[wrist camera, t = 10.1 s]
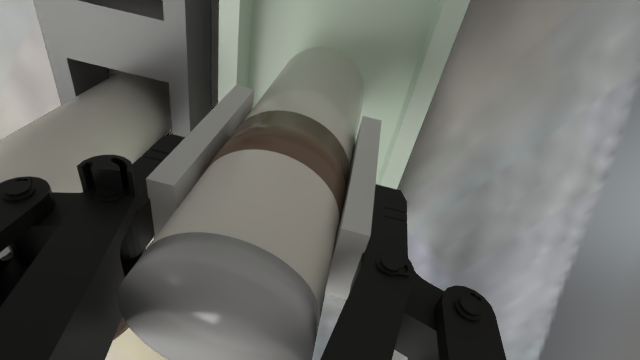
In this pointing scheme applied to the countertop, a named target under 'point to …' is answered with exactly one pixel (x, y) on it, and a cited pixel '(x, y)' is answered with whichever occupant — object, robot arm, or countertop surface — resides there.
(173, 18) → the fuse block
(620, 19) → the countertop surface
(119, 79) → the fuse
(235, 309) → the cylinder
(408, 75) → the tray
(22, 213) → the robot arm
